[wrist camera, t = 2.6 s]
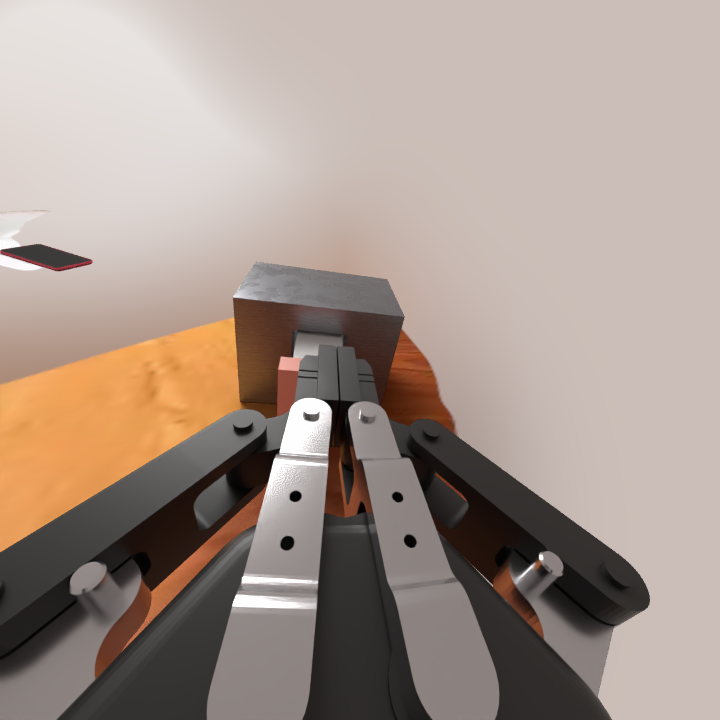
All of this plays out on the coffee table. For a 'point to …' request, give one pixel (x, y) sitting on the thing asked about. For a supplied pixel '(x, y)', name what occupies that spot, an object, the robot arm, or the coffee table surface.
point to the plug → (290, 366)
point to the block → (310, 322)
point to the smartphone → (47, 257)
